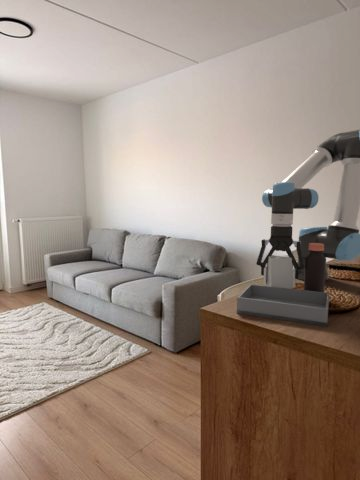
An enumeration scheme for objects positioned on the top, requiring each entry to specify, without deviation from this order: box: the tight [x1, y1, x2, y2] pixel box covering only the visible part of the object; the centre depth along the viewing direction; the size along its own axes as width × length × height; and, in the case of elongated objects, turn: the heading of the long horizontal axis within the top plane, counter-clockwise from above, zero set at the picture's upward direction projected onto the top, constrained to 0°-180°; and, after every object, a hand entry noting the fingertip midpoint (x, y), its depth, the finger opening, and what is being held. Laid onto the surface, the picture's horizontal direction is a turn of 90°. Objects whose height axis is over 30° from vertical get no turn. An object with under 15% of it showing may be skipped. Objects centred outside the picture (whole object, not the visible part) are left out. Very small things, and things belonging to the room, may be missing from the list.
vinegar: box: [303, 243, 327, 292], centre depth 118 cm, size 7×7×20 cm
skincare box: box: [266, 254, 294, 289], centre depth 124 cm, size 8×6×15 cm
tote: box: [236, 283, 330, 327], centre depth 107 cm, size 18×26×5 cm
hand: (279, 285), depth 124 cm, fingers closed on skincare box, 9 cm apart
